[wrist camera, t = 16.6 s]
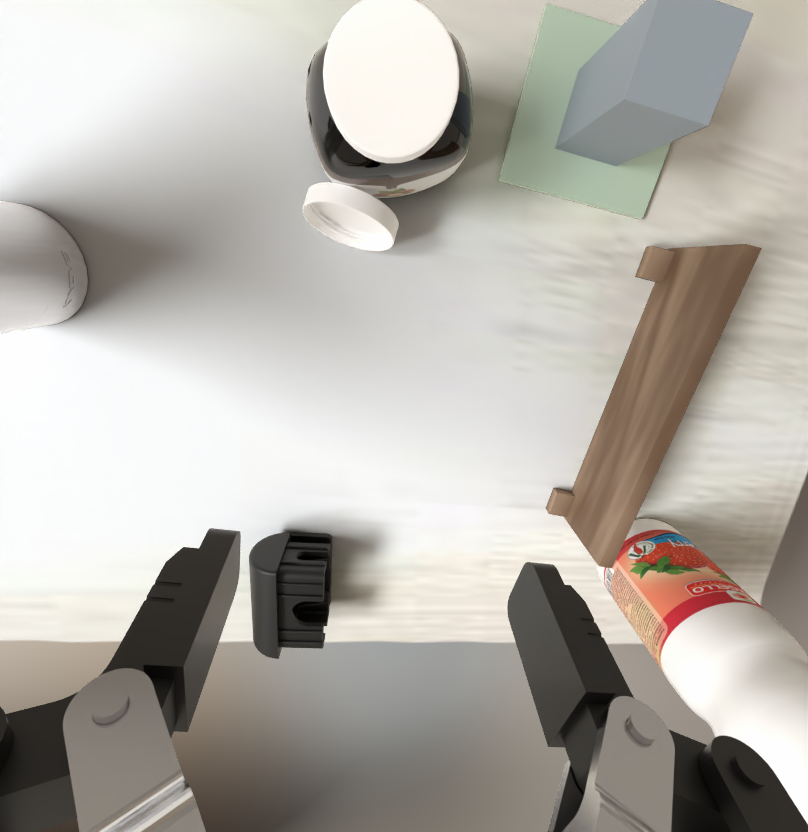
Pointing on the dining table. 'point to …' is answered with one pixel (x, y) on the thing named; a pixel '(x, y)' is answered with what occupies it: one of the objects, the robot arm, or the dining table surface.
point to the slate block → (653, 79)
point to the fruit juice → (716, 647)
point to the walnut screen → (652, 388)
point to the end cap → (290, 591)
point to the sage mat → (543, 116)
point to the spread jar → (384, 117)
